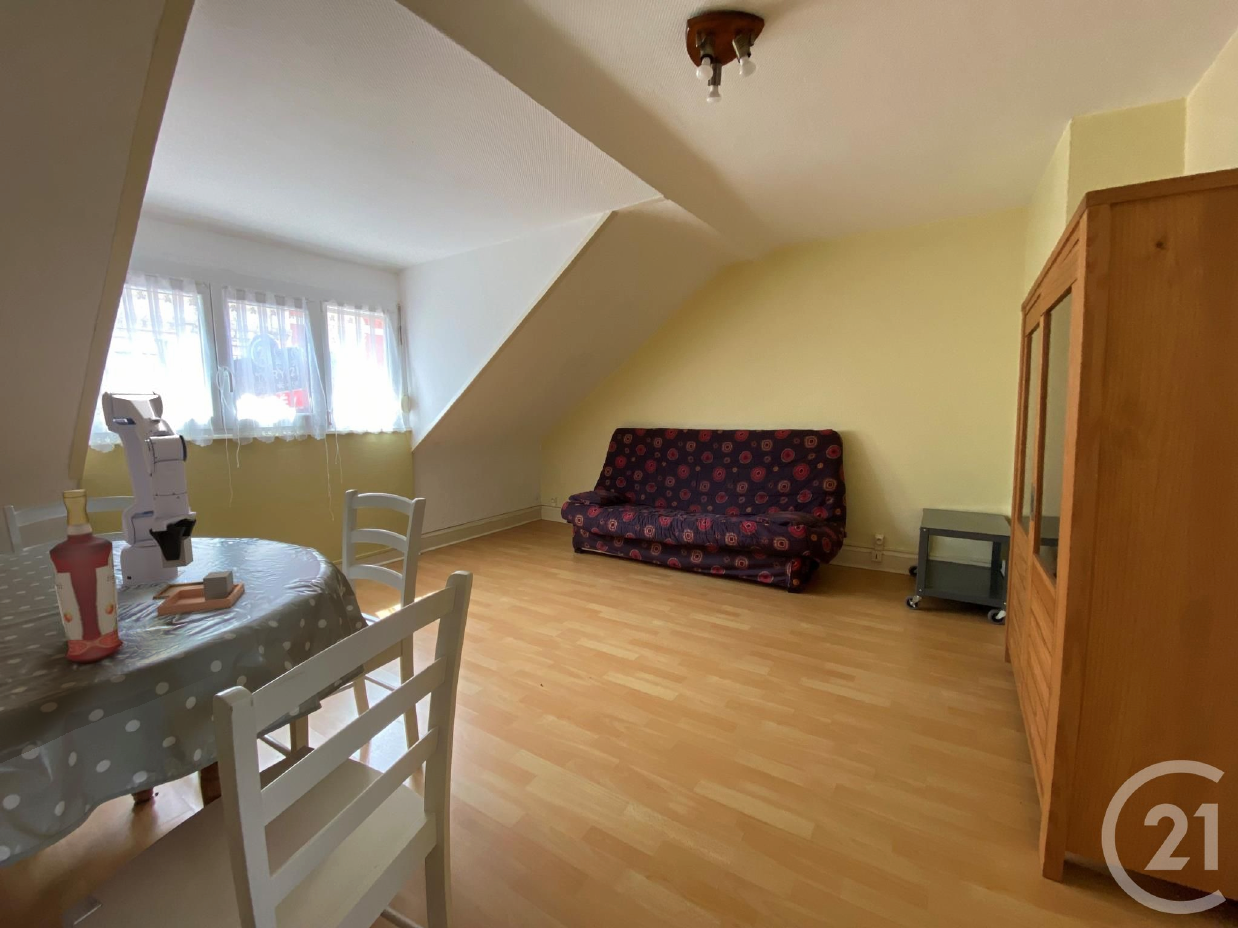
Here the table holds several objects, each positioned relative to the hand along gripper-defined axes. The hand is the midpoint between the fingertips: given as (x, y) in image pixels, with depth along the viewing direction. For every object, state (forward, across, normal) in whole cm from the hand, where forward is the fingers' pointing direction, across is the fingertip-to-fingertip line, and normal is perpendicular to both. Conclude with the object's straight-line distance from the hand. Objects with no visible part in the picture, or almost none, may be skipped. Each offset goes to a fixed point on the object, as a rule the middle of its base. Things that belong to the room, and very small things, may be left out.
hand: (177, 556), depth 115 cm
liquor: (+10, -26, +4) cm, 28 cm away
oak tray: (+9, +4, -1) cm, 10 cm away
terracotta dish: (+9, -6, -6) cm, 12 cm away
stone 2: (+9, -6, -8) cm, 13 cm away
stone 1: (+2, 0, 0) cm, 2 cm away
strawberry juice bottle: (+9, -15, +8) cm, 20 cm away
